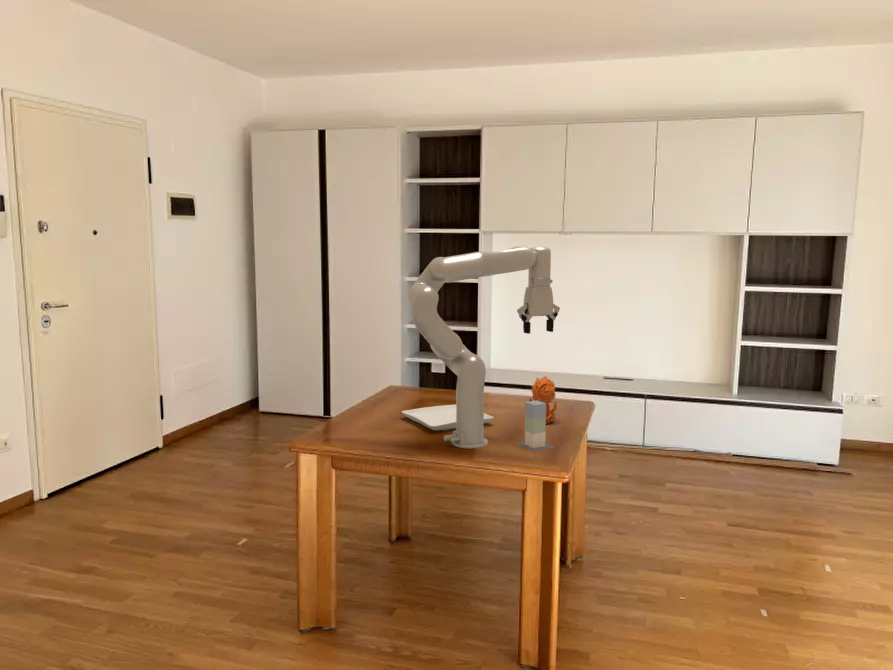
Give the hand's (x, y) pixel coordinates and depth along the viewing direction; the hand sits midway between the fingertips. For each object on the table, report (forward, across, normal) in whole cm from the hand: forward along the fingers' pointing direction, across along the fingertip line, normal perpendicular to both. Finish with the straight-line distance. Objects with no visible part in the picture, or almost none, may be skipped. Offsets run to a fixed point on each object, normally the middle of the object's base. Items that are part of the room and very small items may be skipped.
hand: (538, 332), depth 243 cm
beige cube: (+38, +6, +8) cm, 39 cm away
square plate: (+39, +17, -36) cm, 56 cm away
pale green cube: (+33, +6, +7) cm, 34 cm away
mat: (+38, +6, +8) cm, 39 cm away
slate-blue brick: (+28, +6, +8) cm, 30 cm away
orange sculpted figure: (+38, -16, -18) cm, 45 cm away
